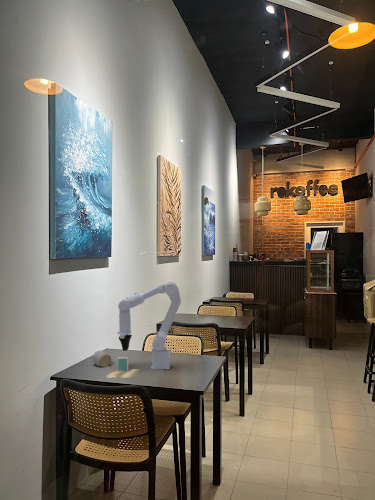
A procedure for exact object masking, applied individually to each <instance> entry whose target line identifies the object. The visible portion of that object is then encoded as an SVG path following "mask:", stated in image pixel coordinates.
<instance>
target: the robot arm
mask: <svg viewBox="0 0 375 500" xmlns="http://www.w3.org/2000/svg"><path fill="white" fill-rule="evenodd" d="M179 289H180V288H179V287H178V286H177V284H176V283H175V282H174V281H168V282H167V283H162V284H160V285H157V286H155V287H153V288H151V289H149V290H147V291H144V293H141V292H134V293H133V295H131V296H129V297H128V296H127V297H125V299H122V300H121V301H119V303H118V306H117V307H118V310H119V311H118V312H119V315H118V319H119V322H118V323H119V324H118V326H119V331H117V334H118V335H119V336H118V340H119V342H120V344H121V347H122V348H121V349H122V351H125V352H126V351H128V350H129V347H130V341H131V339H132V336H133V335H132V325H131V323H132V321H131V319H132V318H131V309H133V308H135V307H137V306H139V305H142V304H143V303H144V302H145V300H146V299H148V298H151V297H154V296H155V295H158V294H166V295H167V296H168V297H169V300H170V305H169V307H168V310H167V312H166V315H165V317H164V318H163V321H162V323H161V325H160V328H159V331H158V333H157V335H156V336H154V337H153V340H152V342H151V343H152V344H151V347H152V349H151V360H152V361H151V362H152V363H151V364H152V365H151V367H150V369H153V370H154V369H155V370H156V369H157V370H159V369H163V370H170V368H171V366H172V359H171V350H170V349H167V347H165V344H166V339H167V338H168V337H167V336H168V335H169V334H168V333H169V331H170V329H171V327H172V324H173V322H174V320H175V316H176V315H177V312H178V310H179V308H180V306H181V302H182V301H181V299H182V298H181V295H180V290H179Z"/></svg>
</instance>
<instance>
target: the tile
mask: <svg viewBox="0 0 375 500" xmlns="http://www.w3.org/2000/svg"><path fill="white" fill-rule="evenodd" d="M116 360H117V361H116V362H117V369H118V371H128V369H129V357H128V356H123V357H117V358H116Z"/></svg>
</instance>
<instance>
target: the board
mask: <svg viewBox="0 0 375 500" xmlns="http://www.w3.org/2000/svg"><path fill="white" fill-rule="evenodd" d="M140 370H141V369H139V368H135V369H134V368H132V369H130V368H128V371H118V368H115V369H112V370H110V371H109V373H108V374H107V375H105V377H104V379H105V378H106V379H107V378H108V379H109V378H110V379H111V378H116V379H117V378H118V379H119V378H121V379H123V378H129V379H130V378H131V379H133V378H136V376H137V374H138V373H139V372H140Z"/></svg>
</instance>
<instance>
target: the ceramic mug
mask: <svg viewBox="0 0 375 500" xmlns="http://www.w3.org/2000/svg"><path fill="white" fill-rule="evenodd" d="M92 362H93V364H94V365H96V366H98V367H101V368H106V367H109V366H110V365H115V363H116V362H115V361H114V360H112V356H111V355H110V354H108V353H107V352H106V351H103V350H97V351H96V352H95V353H94V354H93V355H92Z"/></svg>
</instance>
